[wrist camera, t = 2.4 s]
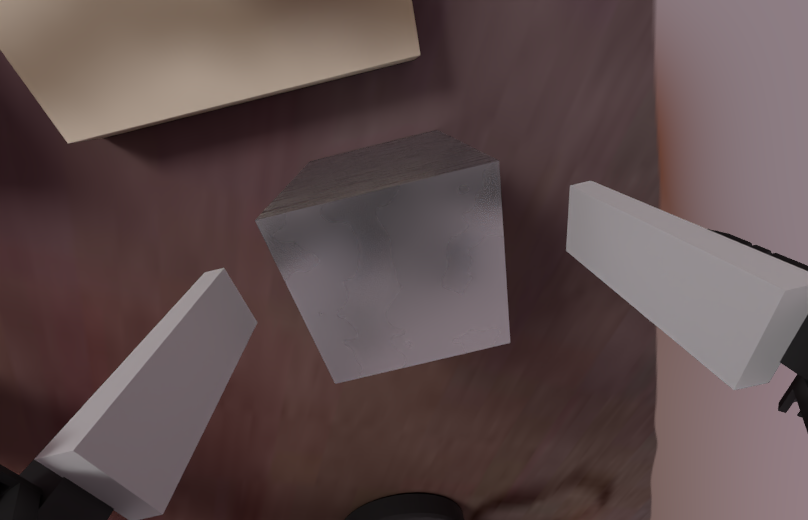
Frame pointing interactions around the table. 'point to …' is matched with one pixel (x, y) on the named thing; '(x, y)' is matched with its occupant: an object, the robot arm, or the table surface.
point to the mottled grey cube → (394, 253)
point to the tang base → (190, 54)
